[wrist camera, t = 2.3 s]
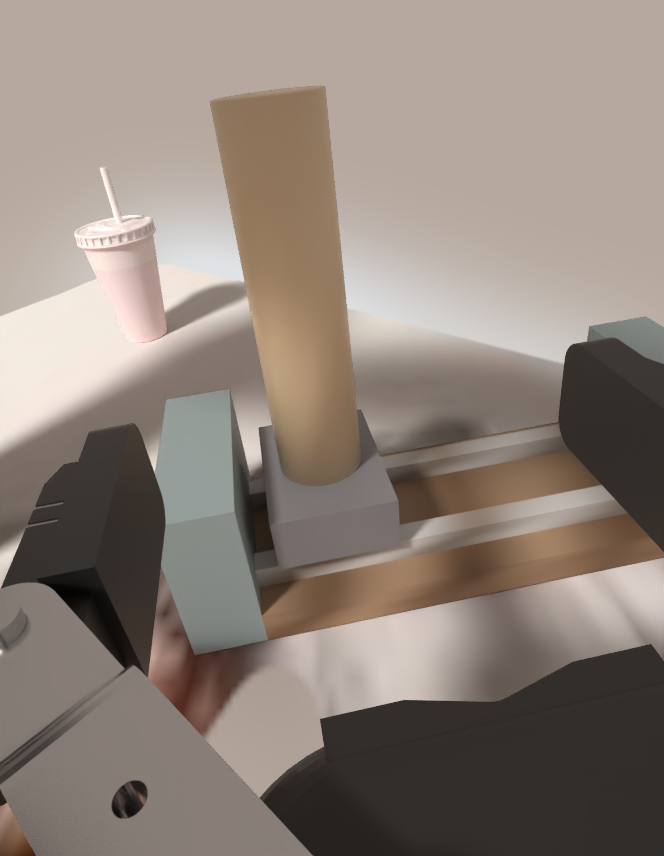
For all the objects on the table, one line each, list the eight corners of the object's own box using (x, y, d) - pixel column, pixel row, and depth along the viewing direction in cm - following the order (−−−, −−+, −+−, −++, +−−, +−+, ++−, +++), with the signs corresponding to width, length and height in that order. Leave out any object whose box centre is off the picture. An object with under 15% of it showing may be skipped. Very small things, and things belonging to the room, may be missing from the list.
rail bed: (194, 655, 24) (179, 614, 22) (200, 511, 31) (189, 475, 30) (741, 541, 26) (757, 497, 24) (622, 431, 33) (630, 393, 32)
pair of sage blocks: (194, 655, 24) (146, 528, 20) (200, 507, 32) (166, 395, 28) (741, 541, 26) (793, 405, 22) (618, 428, 33) (640, 313, 30)
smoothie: (174, 345, 50) (125, 170, 42) (101, 353, 50) (39, 181, 43) (187, 316, 55) (146, 156, 48) (121, 324, 56) (69, 166, 48)
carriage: (279, 569, 23) (178, 114, 15) (266, 467, 29) (189, 98, 20) (400, 545, 24) (374, 87, 15) (364, 449, 30) (330, 79, 21)
